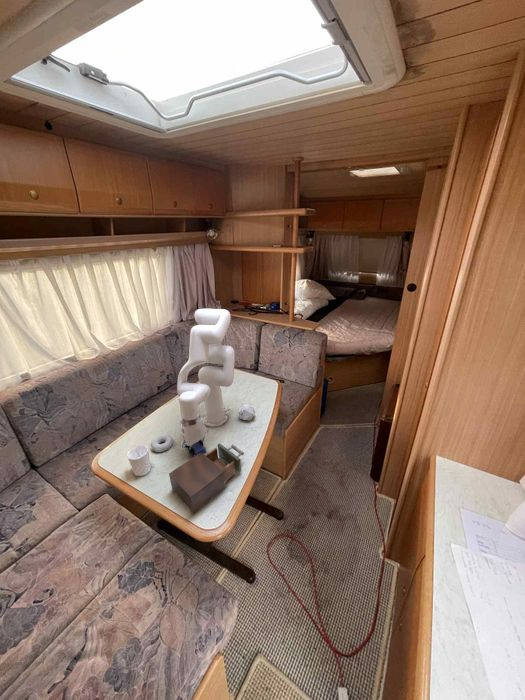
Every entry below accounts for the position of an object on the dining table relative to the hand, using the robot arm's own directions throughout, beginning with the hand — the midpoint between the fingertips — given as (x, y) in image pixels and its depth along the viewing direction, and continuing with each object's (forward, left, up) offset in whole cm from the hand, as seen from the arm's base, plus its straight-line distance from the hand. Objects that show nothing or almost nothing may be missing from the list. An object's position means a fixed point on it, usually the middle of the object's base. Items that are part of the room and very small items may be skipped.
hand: (196, 450), depth 126 cm
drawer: (-1, +18, +1) cm, 18 cm away
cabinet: (+11, +18, 0) cm, 21 cm away
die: (-32, 0, -1) cm, 32 cm away
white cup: (+22, -8, -1) cm, 23 cm away
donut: (+9, -15, -1) cm, 18 cm away
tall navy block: (0, 0, 0) cm, 0 cm away
